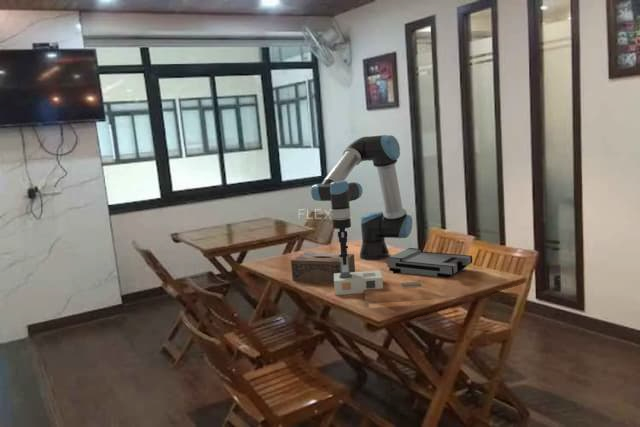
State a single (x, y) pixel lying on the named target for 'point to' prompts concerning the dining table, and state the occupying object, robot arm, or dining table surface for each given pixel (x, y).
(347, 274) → the plug
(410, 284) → the plate
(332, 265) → the tissue box cover
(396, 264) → the office tray
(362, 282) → the socket block
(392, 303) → the dining table surface
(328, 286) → the dining table surface
